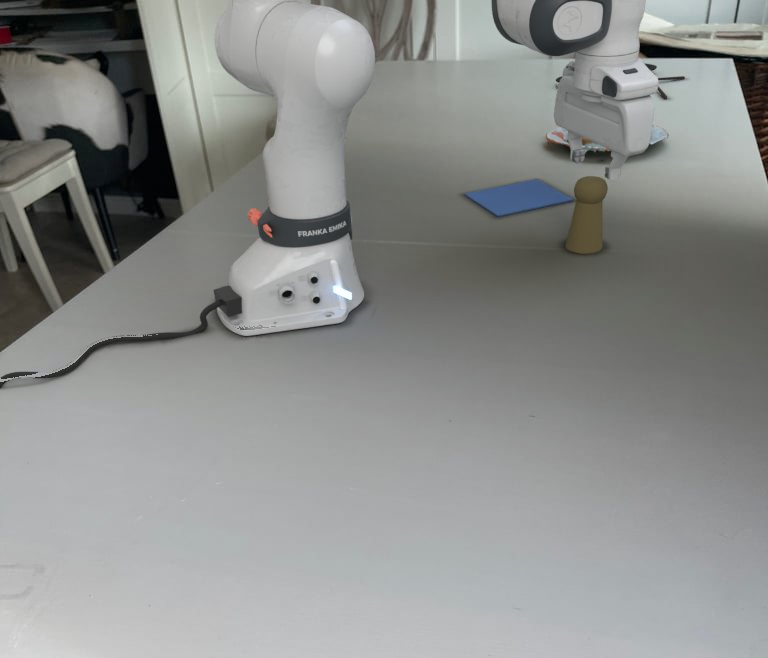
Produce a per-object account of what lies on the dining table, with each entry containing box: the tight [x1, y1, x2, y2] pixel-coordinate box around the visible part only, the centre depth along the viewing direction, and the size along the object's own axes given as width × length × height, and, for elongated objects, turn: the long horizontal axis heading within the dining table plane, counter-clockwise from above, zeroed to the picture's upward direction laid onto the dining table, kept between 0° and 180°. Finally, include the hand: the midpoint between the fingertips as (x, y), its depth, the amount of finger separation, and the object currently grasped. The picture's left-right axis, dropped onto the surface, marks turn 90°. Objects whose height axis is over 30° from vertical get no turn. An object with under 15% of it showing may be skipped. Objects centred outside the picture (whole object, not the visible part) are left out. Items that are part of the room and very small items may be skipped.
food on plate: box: [545, 124, 670, 162], centre depth 172 cm, size 25×25×7 cm
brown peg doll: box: [565, 175, 609, 255], centre depth 131 cm, size 6×6×11 cm
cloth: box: [464, 178, 574, 218], centre depth 152 cm, size 16×13×1 cm
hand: (594, 169), depth 126 cm, fingers open, 8 cm apart
